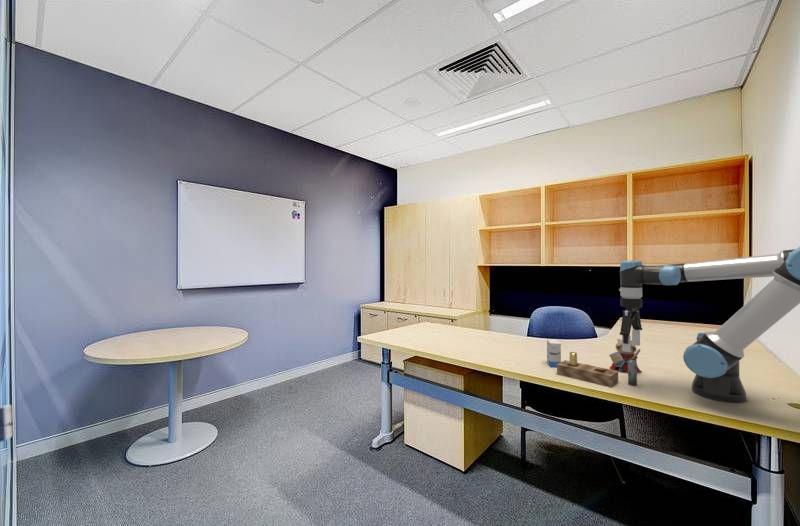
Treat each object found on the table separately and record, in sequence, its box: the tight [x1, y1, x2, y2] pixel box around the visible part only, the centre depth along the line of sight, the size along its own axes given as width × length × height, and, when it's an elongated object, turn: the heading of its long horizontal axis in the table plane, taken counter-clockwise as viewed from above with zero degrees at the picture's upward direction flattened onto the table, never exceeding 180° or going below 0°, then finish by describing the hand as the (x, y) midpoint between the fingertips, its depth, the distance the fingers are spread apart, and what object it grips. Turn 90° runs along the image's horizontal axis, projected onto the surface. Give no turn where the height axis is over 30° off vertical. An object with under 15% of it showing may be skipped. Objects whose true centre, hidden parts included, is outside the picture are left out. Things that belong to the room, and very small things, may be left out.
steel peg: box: [627, 359, 638, 387], centre depth 139 cm, size 3×3×10 cm
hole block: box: [556, 360, 619, 388], centre depth 148 cm, size 22×9×4 cm, turn 41°
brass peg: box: [569, 351, 578, 367], centre depth 152 cm, size 3×3×10 cm
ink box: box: [546, 339, 562, 368], centre depth 167 cm, size 8×5×12 cm, turn 168°
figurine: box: [608, 338, 642, 373], centre depth 155 cm, size 13×11×15 cm
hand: (631, 348), depth 139 cm, fingers open, 13 cm apart
